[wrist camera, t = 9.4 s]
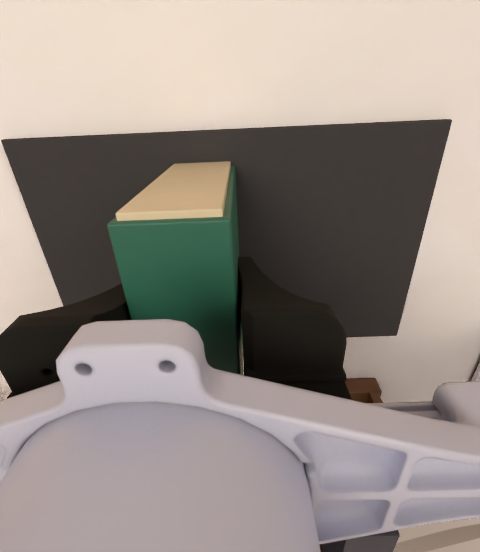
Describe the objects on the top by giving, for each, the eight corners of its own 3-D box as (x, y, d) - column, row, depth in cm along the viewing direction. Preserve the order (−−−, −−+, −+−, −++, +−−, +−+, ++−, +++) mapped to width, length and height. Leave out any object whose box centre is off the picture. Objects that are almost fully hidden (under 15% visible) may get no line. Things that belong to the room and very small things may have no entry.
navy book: (353, 412, 21) (400, 535, 15) (340, 477, 25) (373, 597, 19) (316, 413, 21) (347, 536, 15) (308, 478, 25) (331, 598, 19)
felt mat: (447, 119, 14) (452, 119, 13) (394, 331, 19) (396, 335, 19) (6, 139, 14) (0, 139, 14) (81, 342, 20) (78, 346, 20)
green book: (235, 160, 14) (230, 210, 7) (242, 321, 19) (244, 450, 12) (170, 163, 14) (103, 215, 7) (192, 323, 19) (164, 452, 12)
